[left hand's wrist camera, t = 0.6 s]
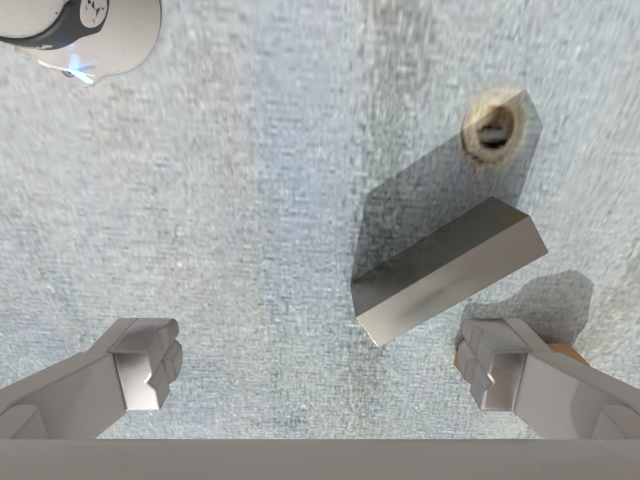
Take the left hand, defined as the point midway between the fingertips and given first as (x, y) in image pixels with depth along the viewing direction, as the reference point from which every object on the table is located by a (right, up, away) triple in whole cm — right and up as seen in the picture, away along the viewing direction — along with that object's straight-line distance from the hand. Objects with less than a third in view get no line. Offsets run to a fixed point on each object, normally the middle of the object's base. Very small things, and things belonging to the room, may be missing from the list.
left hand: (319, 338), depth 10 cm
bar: (+16, 0, +43) cm, 45 cm away
